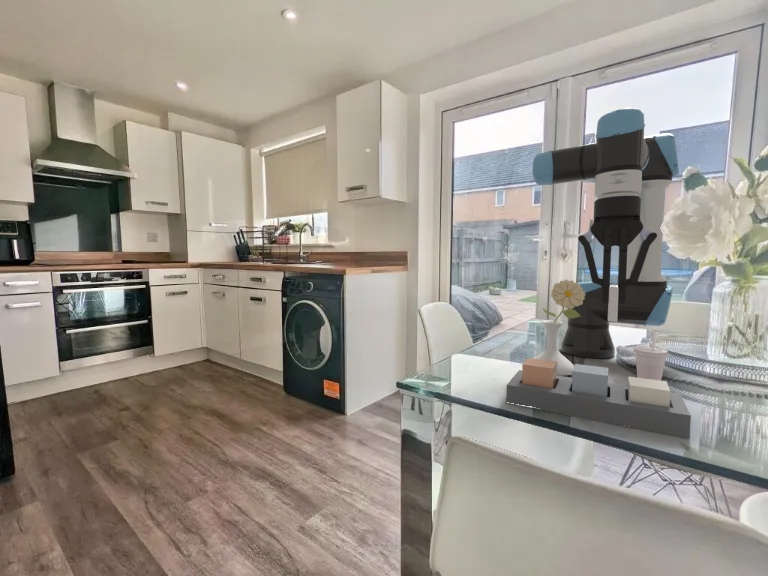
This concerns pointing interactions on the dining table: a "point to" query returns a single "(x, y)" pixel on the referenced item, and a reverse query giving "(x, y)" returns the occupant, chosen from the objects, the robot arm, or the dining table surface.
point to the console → (603, 406)
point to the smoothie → (650, 360)
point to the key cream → (648, 391)
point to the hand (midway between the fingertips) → (612, 320)
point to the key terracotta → (539, 373)
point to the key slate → (590, 380)
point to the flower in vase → (566, 297)
